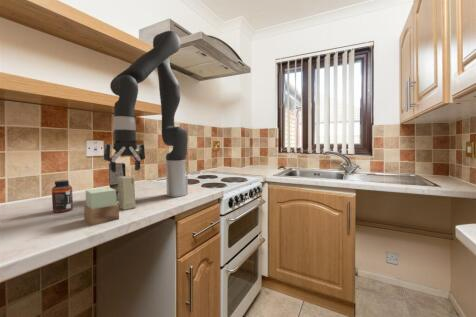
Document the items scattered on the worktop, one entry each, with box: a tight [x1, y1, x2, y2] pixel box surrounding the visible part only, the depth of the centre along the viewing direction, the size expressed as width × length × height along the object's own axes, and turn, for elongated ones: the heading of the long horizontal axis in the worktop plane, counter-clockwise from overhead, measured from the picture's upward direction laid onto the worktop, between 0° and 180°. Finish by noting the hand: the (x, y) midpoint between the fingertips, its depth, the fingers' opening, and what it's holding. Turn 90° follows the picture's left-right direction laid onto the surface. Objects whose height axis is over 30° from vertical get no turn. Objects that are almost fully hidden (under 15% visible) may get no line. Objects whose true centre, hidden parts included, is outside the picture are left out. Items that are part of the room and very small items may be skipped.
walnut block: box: [83, 203, 120, 226], centre depth 73 cm, size 8×8×5 cm
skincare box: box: [118, 175, 136, 211], centre depth 86 cm, size 6×4×12 cm
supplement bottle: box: [51, 179, 74, 213], centre depth 82 cm, size 6×6×11 cm
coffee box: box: [108, 162, 127, 201], centre depth 101 cm, size 9×6×16 cm
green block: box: [85, 186, 117, 209], centre depth 73 cm, size 7×7×5 cm
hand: (125, 171), depth 86 cm, fingers open, 8 cm apart
